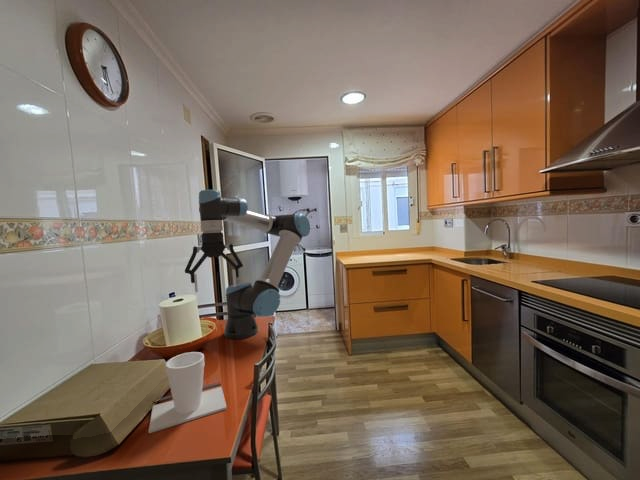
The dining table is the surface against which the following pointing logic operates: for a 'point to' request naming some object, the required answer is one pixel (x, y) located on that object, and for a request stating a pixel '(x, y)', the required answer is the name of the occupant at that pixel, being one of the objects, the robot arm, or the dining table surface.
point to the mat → (168, 416)
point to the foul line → (202, 389)
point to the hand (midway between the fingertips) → (216, 288)
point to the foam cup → (186, 380)
